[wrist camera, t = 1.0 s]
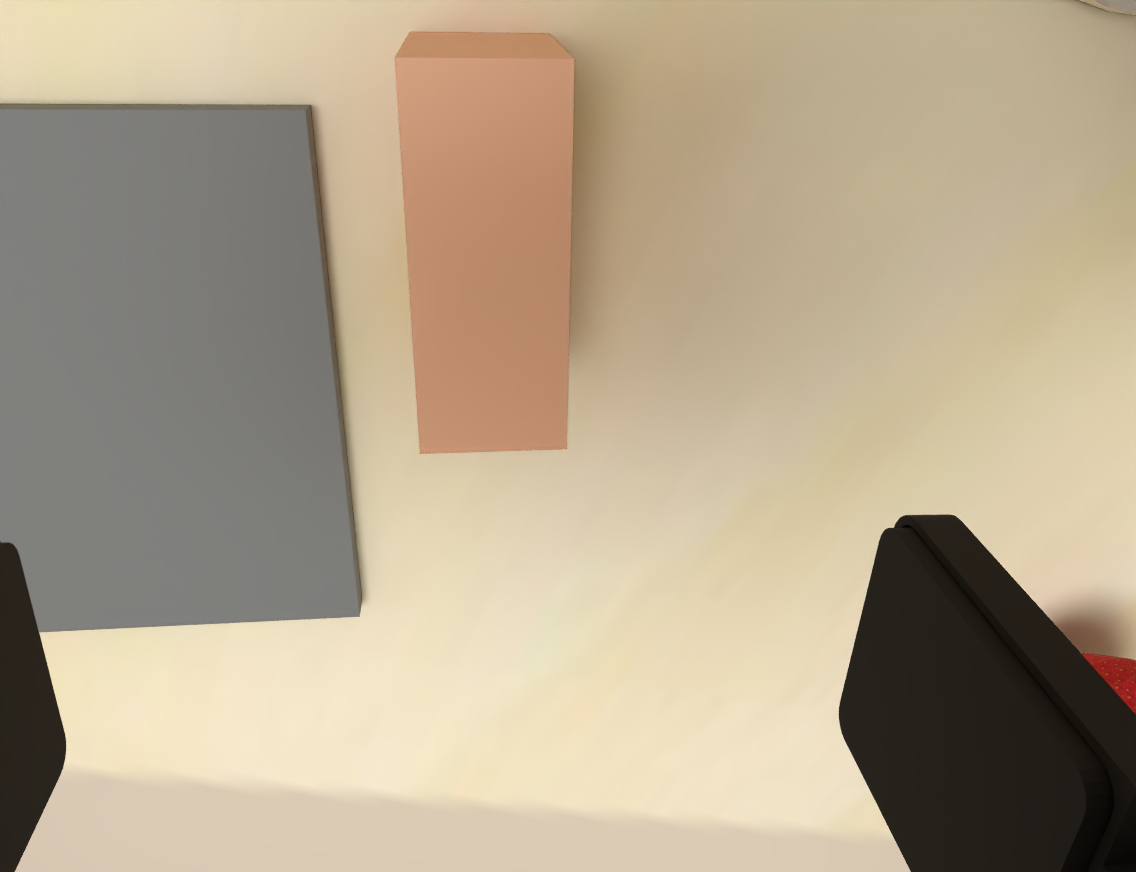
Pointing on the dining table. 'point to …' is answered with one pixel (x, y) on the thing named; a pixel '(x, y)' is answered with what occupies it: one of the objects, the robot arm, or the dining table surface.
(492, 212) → the card box
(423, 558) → the dining table surface
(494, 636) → the dining table surface
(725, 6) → the dining table surface
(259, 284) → the mat
